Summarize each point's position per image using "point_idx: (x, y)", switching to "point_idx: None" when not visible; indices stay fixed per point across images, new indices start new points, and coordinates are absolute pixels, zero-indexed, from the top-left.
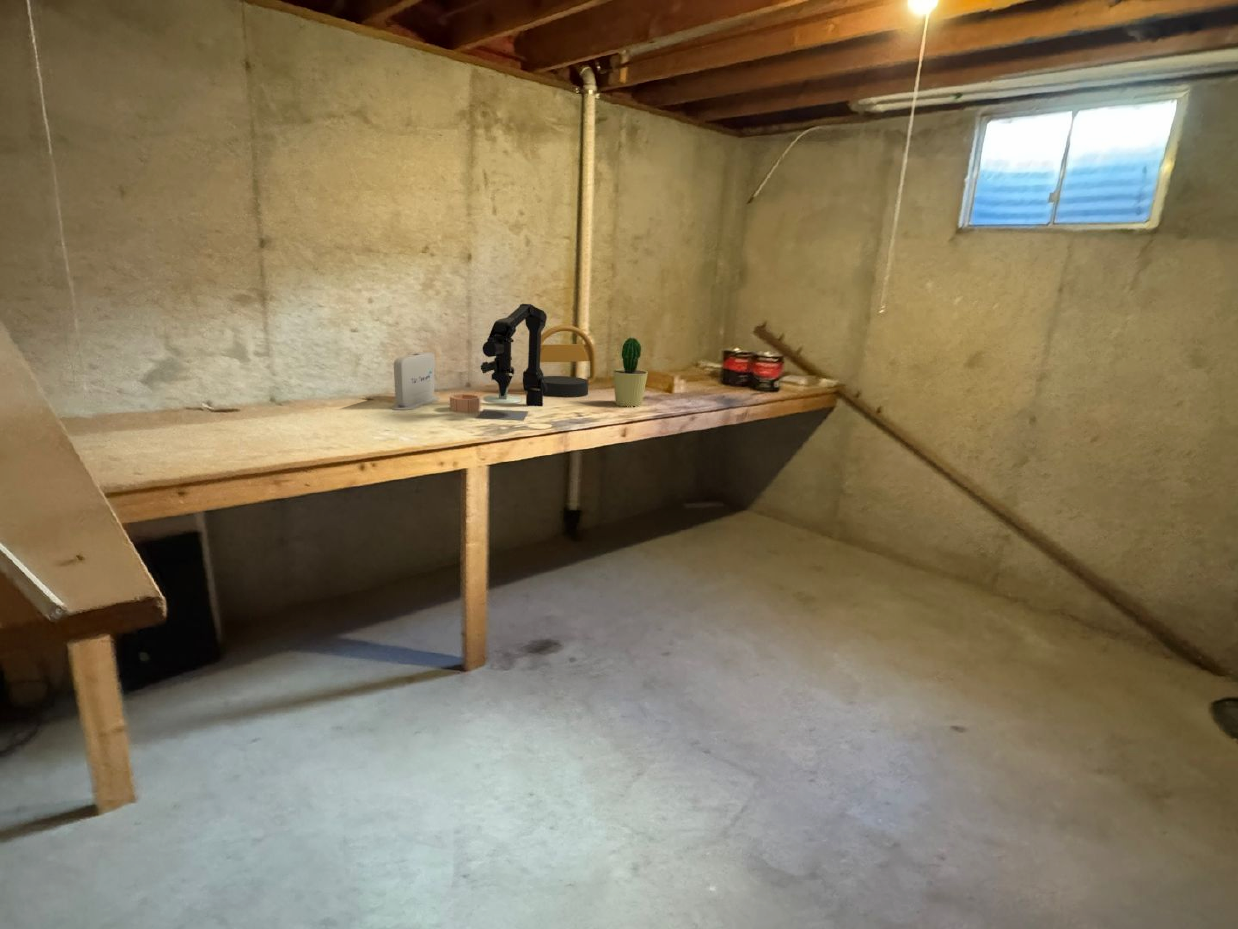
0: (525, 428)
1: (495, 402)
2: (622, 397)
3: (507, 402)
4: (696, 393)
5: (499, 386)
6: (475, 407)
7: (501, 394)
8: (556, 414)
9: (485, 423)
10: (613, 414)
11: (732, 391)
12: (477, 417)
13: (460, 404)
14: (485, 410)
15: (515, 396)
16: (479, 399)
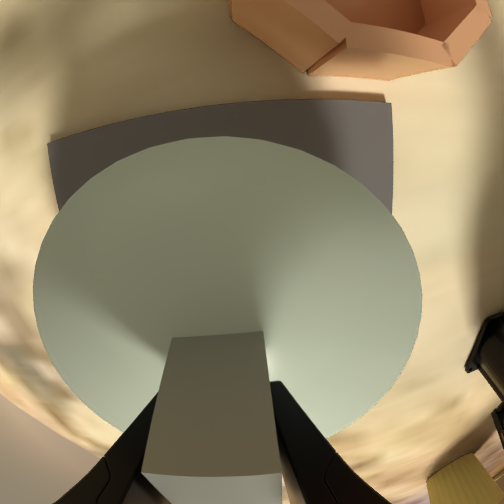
0: (43, 392)
1: (42, 326)
2: (441, 488)
3: (86, 403)
4: (496, 465)
5: (92, 475)
6: (288, 44)
7: (154, 403)
8: (337, 443)
9: (6, 234)
10: None
11: (492, 474)
12: (69, 144)
13: None
14: (342, 121)
15: (360, 409)
16: (379, 57)
